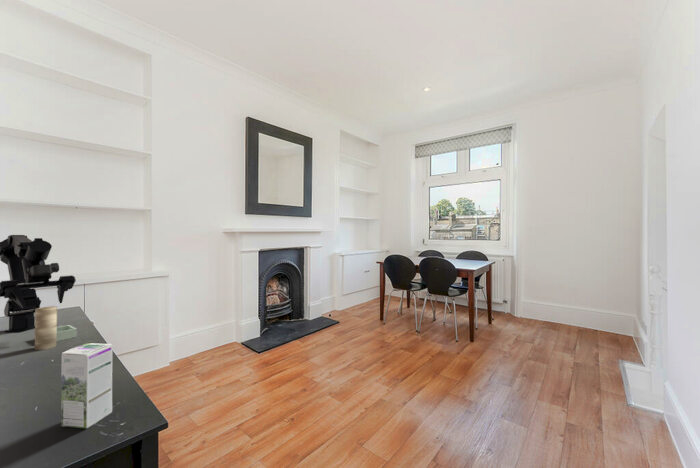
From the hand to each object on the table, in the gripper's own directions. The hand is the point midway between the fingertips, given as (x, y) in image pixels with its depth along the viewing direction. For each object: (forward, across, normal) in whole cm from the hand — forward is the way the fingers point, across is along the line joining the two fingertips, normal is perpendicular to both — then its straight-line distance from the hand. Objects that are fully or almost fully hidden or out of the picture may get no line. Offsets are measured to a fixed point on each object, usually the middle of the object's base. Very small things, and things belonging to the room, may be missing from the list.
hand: (43, 305), depth 102 cm
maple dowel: (+15, -1, +3) cm, 15 cm away
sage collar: (+9, +4, +10) cm, 14 cm away
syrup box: (+55, -9, -44) cm, 71 cm away
